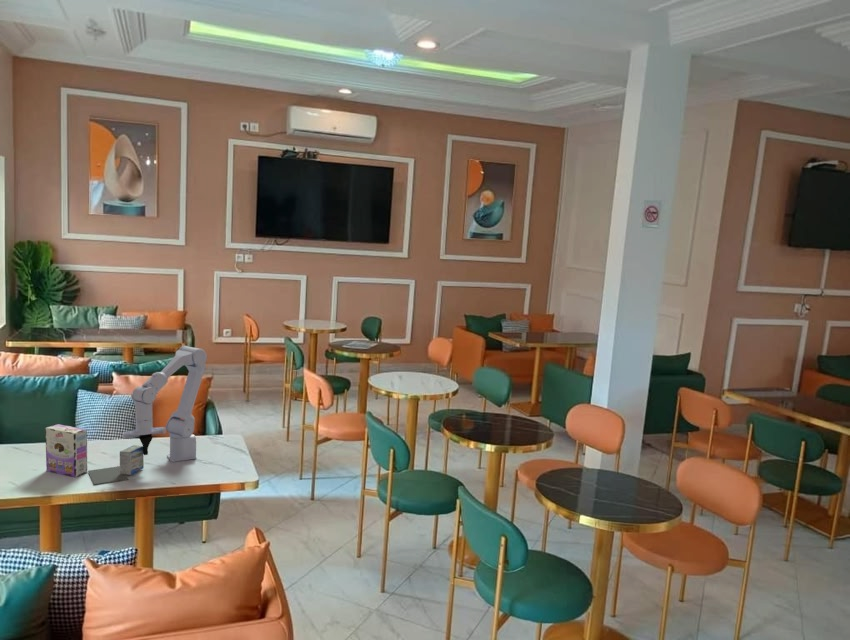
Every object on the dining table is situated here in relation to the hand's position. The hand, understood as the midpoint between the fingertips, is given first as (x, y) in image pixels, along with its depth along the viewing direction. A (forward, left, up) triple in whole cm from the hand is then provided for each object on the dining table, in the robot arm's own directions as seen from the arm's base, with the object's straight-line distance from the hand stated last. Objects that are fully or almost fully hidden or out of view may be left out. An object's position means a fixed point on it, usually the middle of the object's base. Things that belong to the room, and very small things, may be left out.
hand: (144, 454), depth 242 cm
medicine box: (+4, 0, -6) cm, 7 cm away
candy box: (+24, -10, -6) cm, 27 cm away
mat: (+12, 0, -6) cm, 14 cm away
